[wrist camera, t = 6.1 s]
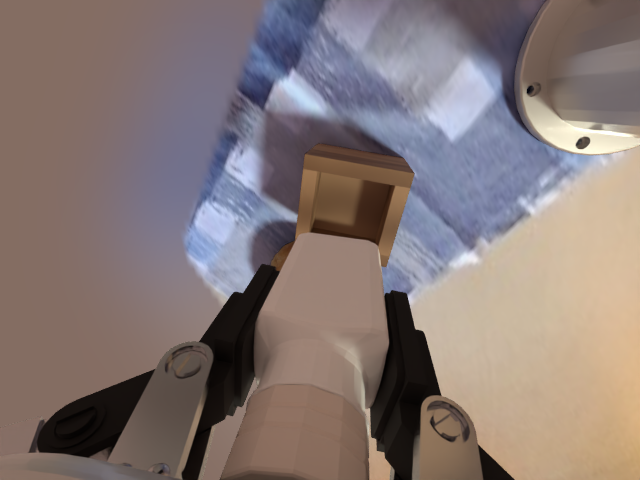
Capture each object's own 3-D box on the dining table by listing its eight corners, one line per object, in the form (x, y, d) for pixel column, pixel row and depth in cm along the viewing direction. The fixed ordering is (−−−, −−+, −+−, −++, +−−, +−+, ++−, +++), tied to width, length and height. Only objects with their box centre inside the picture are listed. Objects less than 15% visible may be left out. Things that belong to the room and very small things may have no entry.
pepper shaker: (298, 225, 13) (180, 438, 5) (381, 237, 13) (414, 489, 4) (294, 292, 15) (205, 532, 7) (367, 304, 15) (372, 574, 6)
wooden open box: (318, 142, 24) (304, 154, 18) (403, 157, 23) (414, 173, 18) (308, 220, 27) (294, 248, 22) (382, 234, 27) (386, 267, 21)
